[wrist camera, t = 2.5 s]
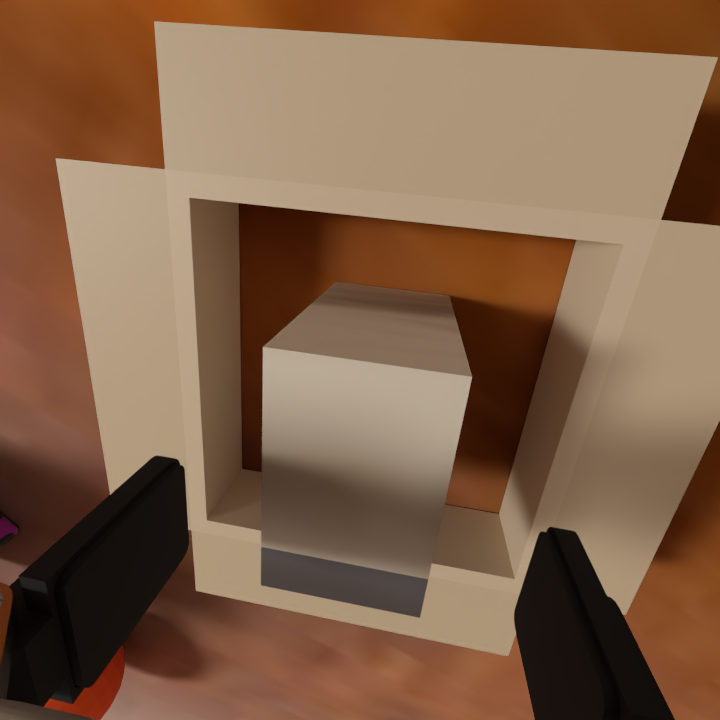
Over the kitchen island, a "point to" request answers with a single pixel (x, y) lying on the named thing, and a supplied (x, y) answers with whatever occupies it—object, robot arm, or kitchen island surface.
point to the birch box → (360, 444)
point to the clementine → (96, 692)
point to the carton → (424, 205)
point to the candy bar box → (6, 530)
